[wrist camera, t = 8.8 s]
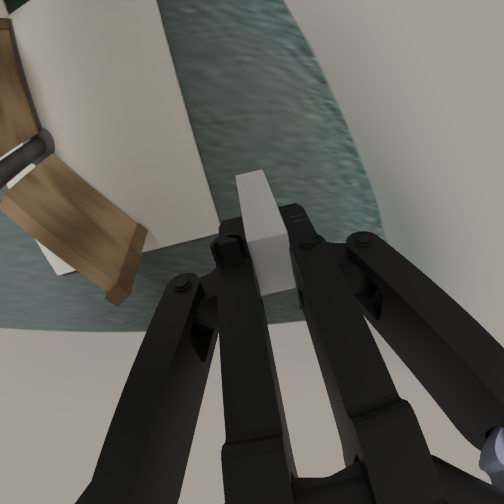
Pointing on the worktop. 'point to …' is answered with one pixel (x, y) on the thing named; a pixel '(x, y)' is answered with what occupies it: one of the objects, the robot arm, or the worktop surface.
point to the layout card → (114, 112)
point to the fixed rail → (14, 114)
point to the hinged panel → (78, 226)
